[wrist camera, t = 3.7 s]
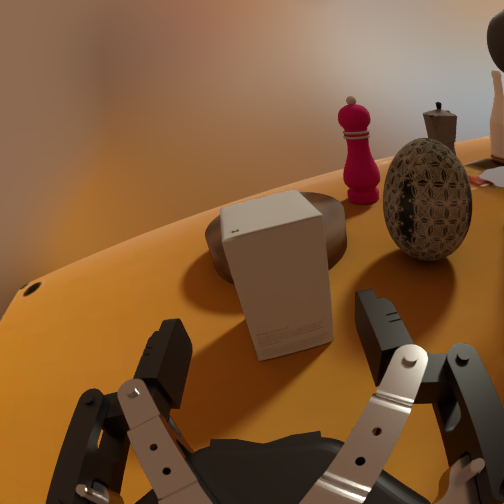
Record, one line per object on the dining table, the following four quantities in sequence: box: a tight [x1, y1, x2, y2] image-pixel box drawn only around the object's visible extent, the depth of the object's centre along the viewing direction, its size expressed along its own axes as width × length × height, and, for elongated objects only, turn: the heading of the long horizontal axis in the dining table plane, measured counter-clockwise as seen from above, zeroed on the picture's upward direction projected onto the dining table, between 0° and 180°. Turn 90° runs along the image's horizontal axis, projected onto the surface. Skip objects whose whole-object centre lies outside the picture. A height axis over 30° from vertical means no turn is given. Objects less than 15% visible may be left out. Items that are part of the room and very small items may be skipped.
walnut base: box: [205, 192, 347, 284], centre depth 42 cm, size 20×20×5 cm
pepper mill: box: [338, 96, 380, 204], centre depth 48 cm, size 7×7×20 cm
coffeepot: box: [423, 102, 457, 155], centre depth 53 cm, size 15×9×18 cm, turn 123°
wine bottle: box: [490, 71, 504, 159], centre depth 56 cm, size 10×10×30 cm
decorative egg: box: [383, 138, 472, 261], centre depth 29 cm, size 12×12×15 cm
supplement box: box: [220, 189, 333, 361], centre depth 25 cm, size 7×7×13 cm
